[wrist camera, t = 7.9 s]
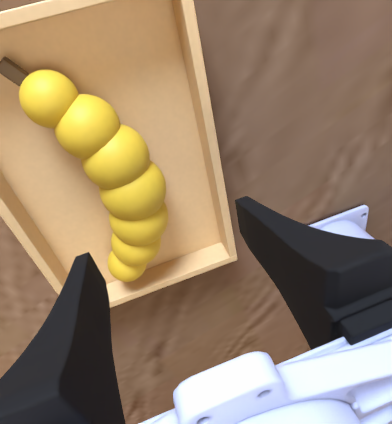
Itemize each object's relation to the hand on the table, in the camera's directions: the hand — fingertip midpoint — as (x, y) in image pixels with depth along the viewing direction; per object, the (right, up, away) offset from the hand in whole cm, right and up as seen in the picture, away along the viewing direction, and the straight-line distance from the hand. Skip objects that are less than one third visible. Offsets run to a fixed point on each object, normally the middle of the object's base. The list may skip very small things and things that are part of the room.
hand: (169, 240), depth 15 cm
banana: (-4, +4, +6) cm, 8 cm away
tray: (-4, +4, +6) cm, 8 cm away
